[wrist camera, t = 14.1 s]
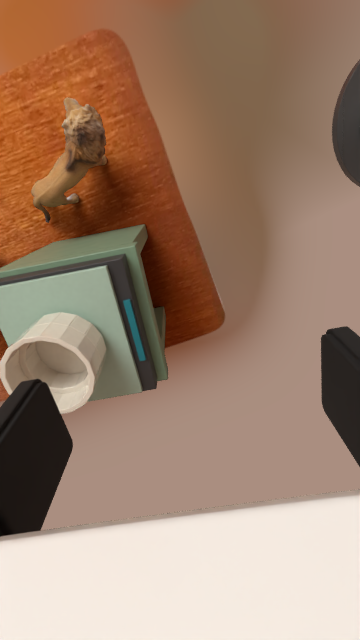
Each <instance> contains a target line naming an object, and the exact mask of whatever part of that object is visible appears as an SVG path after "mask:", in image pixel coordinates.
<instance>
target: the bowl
mask: <svg viewBox="0 0 360 640" xmlns="http://www.w3.org/2000/svg"><path fill="white" fill-rule="evenodd" d="M105 356H106V346H105V343H104V340H103V337H102V335H101V333H100V332H99V331H98V330H97V329H96V328H95V326H94V325H93V324H91V322H89V321H87V320H85V319H83V318H82V317H80V316H78V315H74V314H69V313H63V312H58V313H53V314H47V315H44V316H43V317H41V318H40V319H38V320H37V321H35V322H34V323H33V324H32V325H31V326H30V327H29V328H28V329H27V330H26V331H25V332H24V333H23V334H22V335H20V336H19V337H18V338H17V339H16V340H15V341H14V342H13V343H12V344H11V345H10V346H9V347H8V348H7V350H6V352H5V354H4V356H3V358H2V359H1V361H0V378H1V381H2V383H3V385H4V387H5V389H6V391H7V392H8V394H9V395H11V393H12V392H13V391H14V390H15V388H16V387H17V386H18V385H19V383H20V382H22V381H28V380H33V379H40V380H41V381H42V382H46V383H47V384H48V386H49V389H50V391H51V393H52V395H53V398H54V400H55V402H56V405H57V407H58V409H59V411H60V414H64V413H70V412H73V411H74V410H76V409H78V408H79V407H81V406H82V405H85V404H86V402H87V401H88V399H89V398H90V396H91V395H92V393H93V391H94V389H95V386H96V383H97V381H98V378H99V375H100V373H101V370H102V368H103V365H104V362H105Z"/></svg>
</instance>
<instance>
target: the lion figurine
mask: <svg viewBox="0 0 360 640" xmlns="http://www.w3.org/2000/svg"><path fill="white" fill-rule="evenodd" d="M64 105H65V109H66V111H67V113H66V119H65V120H64V123H63V124H62V127H63V128H64V134H65V136H66V138H65V140H66V148H65V152H64V153H63V154H62V155H61V156H60V157H59V159H58V160H57V162H56V163H55V165H54V166H53V168H52V170H51V172H50V173H49V175H48V176H47V177H45V178H43V179H41V180H38V181H37V182H36V183H35V184H34V186H33V188H32V191H31V193H32V195H33V196H34V200H33V204H34V206H35V207H36V208H38V209H40V210H41V211H43V212H44V214H45V218H46V222H48V223H49V220H50V215H49V212H48V211H47V210H46V209H45V208H44V207H43V206H42V205H44V206H47V207H57V206H60V205H67V204H74V203H77V202H79V197H78V196H77V194H71V195H70V196H69V197H68V198H66V196H64V193H65V192H66V191H67V190H69V189H70V188H72V187H74V186H75V185H76V184H77V183H78V182H79V181H80V180H81V179H82V178H83V177H84V176H85V174H86V173H87V171H88V169H89V168H92V167H95V166H100V165H105V164H106V163H107V158H106V156H105V155H104V154H105V148H104V146H105V145H106V140H105V139H106V137H105V130H104V128H103V124H102V119H101V117H100V114H98V113H97V111H96V110H95V108H94V107H91V106H90V105H88V104H87V105H86V106H84V107H83V106H81V105H79V104H78V102H77V101H76V100H75V99H71V98H69V97H68V98H65V99H64ZM41 204H42V205H41Z"/></svg>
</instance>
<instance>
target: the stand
mask: <svg viewBox="0 0 360 640" xmlns="http://www.w3.org/2000/svg"><path fill="white" fill-rule="evenodd" d="M147 238H148V235H147V230H146V226H145V224H142V225H137V226H132V227H127V228H122V229H117V230H112V231H107V232H102V233H97V234H92V235H87V236H82V237H77V238H72V239H68V240H63V241H58V242H53V243H51V244H49V245H47V246H45V247H43V248H41V249H39V250H37V251H35V252H32V253H30V254H28V255H26V256H24V257H22V258H20V259H18V260H16V261H14V262H12V263H10V264H8V265H6V266H4V267H1V268H0V278H3V277H8V276H13V275H18V274H23V273H28V272H33V271H38V270H43V269H49V268H54V267H59V266H64V265H69V264H74V263H79V262H84V261H89V260H94V259H100V258H105V257H110V256H115V255H120V254H125V255H126V258H127V262H128V266H129V270H130V274H131V278H132V282H133V285H134V289H135V293H136V297H137V301H138V305H139V309H140V312H141V316H142V320H143V324H144V328H145V332H146V336H147V339H148V343H149V347H150V351H151V355H152V359H153V363H154V366H155V370H156V374H157V381H161V380H167V379H168V367H167V363H166V359H165V355H164V349H165V327H166V315H165V310H164V306H163V307H157V308H153V305H152V300H151V296H150V292H149V288H148V284H147V280H146V275H145V271H144V267H143V263H142V259H141V255H140V253H141V251H142V249H143V247H144V245H145V242H146V240H147Z"/></svg>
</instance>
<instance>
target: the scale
mask: <svg viewBox="0 0 360 640" xmlns="http://www.w3.org/2000/svg"><path fill="white" fill-rule="evenodd" d="M58 312H63V313H69V314H74V315H78V316H80V317H82V318H83V319H85V320H87V321H89V322H91V324H93V325H94V326H95V328H96V329H97V330H98V331H99V332H100V333H101V335H102V337H103V340H104V343H105V346H106V356H105V362H104V365H103V368H102V370H101V373H100V375H99V378H98V381H97V383H96V386H95V389H94V391H93V393H92V395H91V396H90V398H89V399H88V401H93V400H99V399H105V398H111V397H117V396H123V395H129V394H134V393H141V392H142V391H146V390H151V389H156V386H157V374H156V370H155V366H154V363H153V359H152V355H151V351H150V347H149V343H148V339H147V336H146V332H145V328H144V324H143V320H142V316H141V312H140V309H139V305H138V301H137V297H136V293H135V289H134V285H133V282H132V278H131V274H130V270H129V266H128V262H127V258H126V255H125V254H120V255H115V256H110V257H105V258H100V259H94V260H89V261H84V262H79V263H74V264H69V265H64V266H59V267H54V268H49V269H43V270H38V271H33V272H28V273H23V274H18V275H13V276H8V277H3V278H0V330H1V332H2V334H3V336H4V338H5V340H6V342H7V345H8V347H9V346H10V345H11V344H12V343H13V342H14V341H15V340H16V339H17V338H18V337H19V336H20V335H22V334H23V333H24V332H25V331H26V330H27V329H28V328H29V327H30V326H31V325H32V324H33V323H34V322H35V321H37V320H38V319H40V318H41V317H43V316H44V315H47V314H53V313H58Z"/></svg>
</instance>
